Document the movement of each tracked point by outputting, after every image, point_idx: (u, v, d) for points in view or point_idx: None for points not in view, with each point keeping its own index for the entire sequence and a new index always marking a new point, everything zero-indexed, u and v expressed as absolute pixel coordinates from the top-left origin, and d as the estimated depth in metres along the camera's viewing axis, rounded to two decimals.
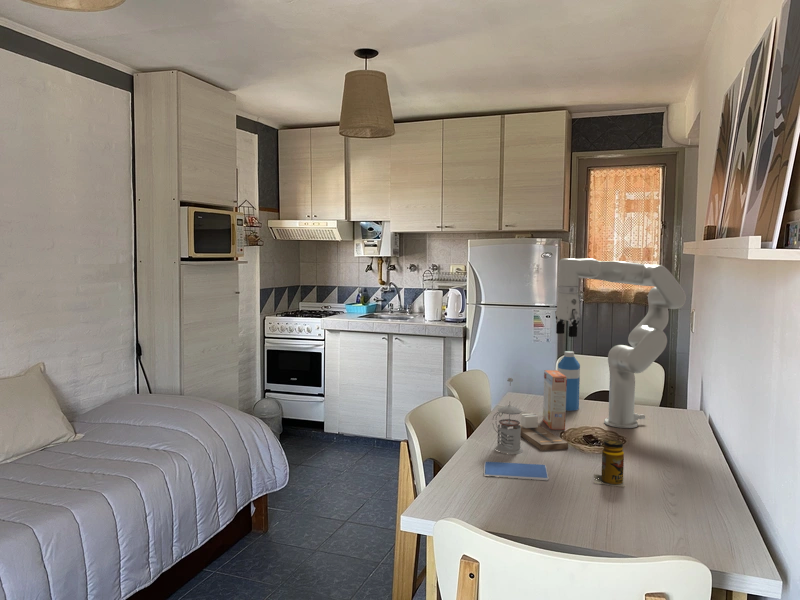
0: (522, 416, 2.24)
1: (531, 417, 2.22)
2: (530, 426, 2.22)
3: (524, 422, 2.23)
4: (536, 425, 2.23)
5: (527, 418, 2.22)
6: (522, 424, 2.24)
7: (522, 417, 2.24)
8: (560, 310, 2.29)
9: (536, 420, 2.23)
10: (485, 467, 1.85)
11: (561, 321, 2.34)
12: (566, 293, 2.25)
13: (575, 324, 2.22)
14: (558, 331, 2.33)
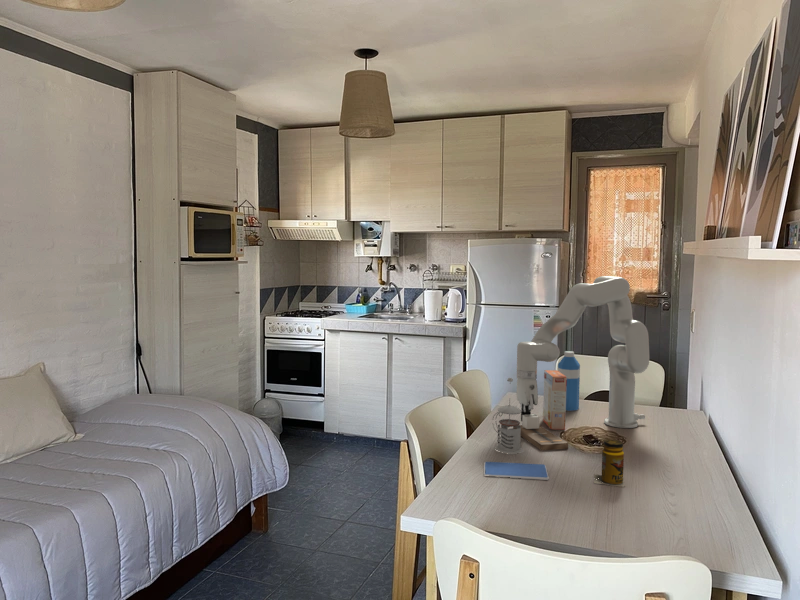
0: (523, 417, 2.23)
1: (532, 418, 2.21)
2: (531, 427, 2.21)
3: (525, 423, 2.21)
4: (537, 426, 2.22)
5: (528, 419, 2.21)
6: (523, 425, 2.23)
7: (523, 418, 2.23)
8: (519, 393, 2.27)
9: (537, 421, 2.21)
10: (485, 467, 1.85)
11: None
12: (524, 378, 2.23)
13: (528, 410, 2.25)
14: None
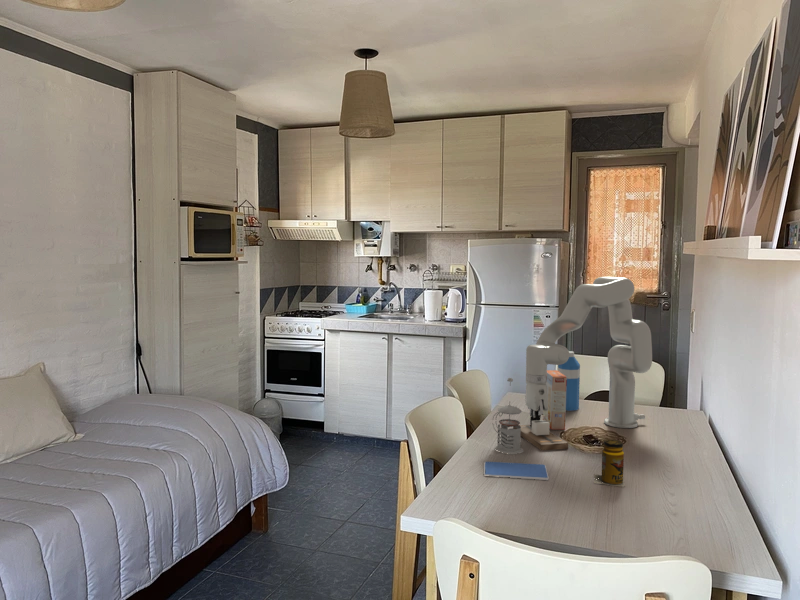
0: (533, 423, 2.15)
1: (542, 424, 2.13)
2: (541, 433, 2.13)
3: (535, 429, 2.14)
4: (547, 432, 2.14)
5: (538, 425, 2.13)
6: (533, 431, 2.15)
7: (533, 424, 2.15)
8: (528, 398, 2.19)
9: (547, 427, 2.14)
10: (485, 467, 1.85)
11: None
12: (534, 382, 2.15)
13: (538, 416, 2.17)
14: None
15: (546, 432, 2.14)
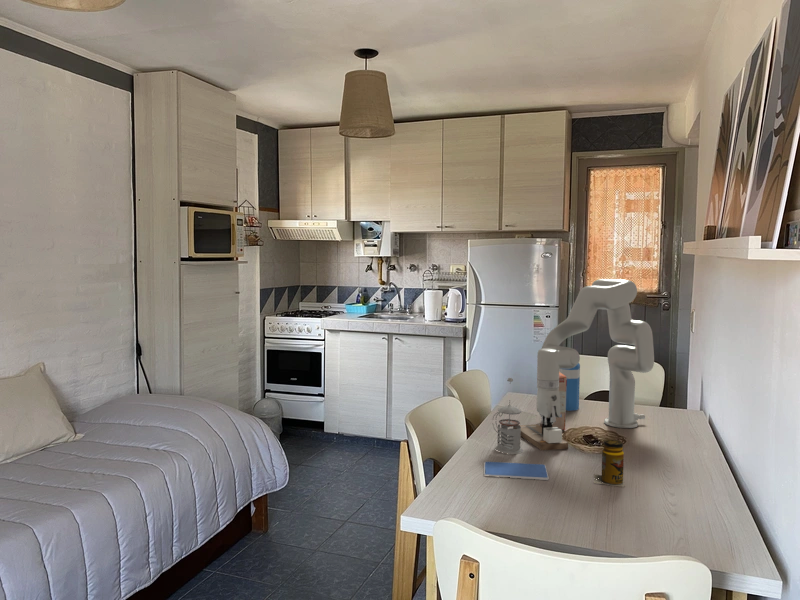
0: (545, 430, 2.06)
1: (555, 431, 2.04)
2: (554, 441, 2.04)
3: (547, 437, 2.04)
4: (560, 440, 2.05)
5: (550, 432, 2.04)
6: (545, 439, 2.06)
7: (545, 431, 2.06)
8: (540, 405, 2.10)
9: (560, 434, 2.04)
10: (485, 467, 1.85)
11: None
12: (545, 388, 2.06)
13: (550, 423, 2.08)
14: None
15: (559, 440, 2.04)
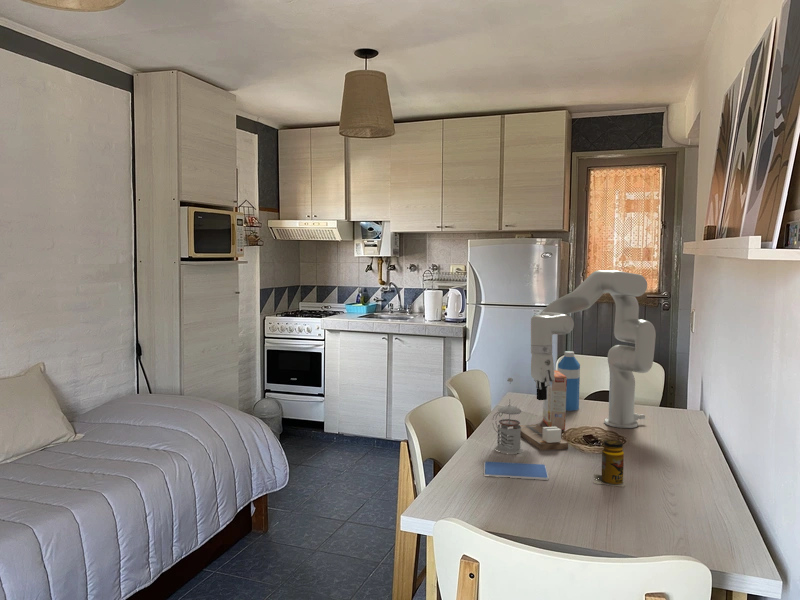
0: (544, 429, 2.07)
1: (554, 431, 2.05)
2: (553, 440, 2.05)
3: (546, 436, 2.05)
4: (559, 439, 2.05)
5: (549, 432, 2.04)
6: (544, 438, 2.07)
7: (544, 431, 2.07)
8: (534, 370, 2.15)
9: (559, 434, 2.05)
10: (485, 467, 1.85)
11: None
12: (539, 353, 2.11)
13: (544, 387, 2.13)
14: None
15: (558, 439, 2.05)
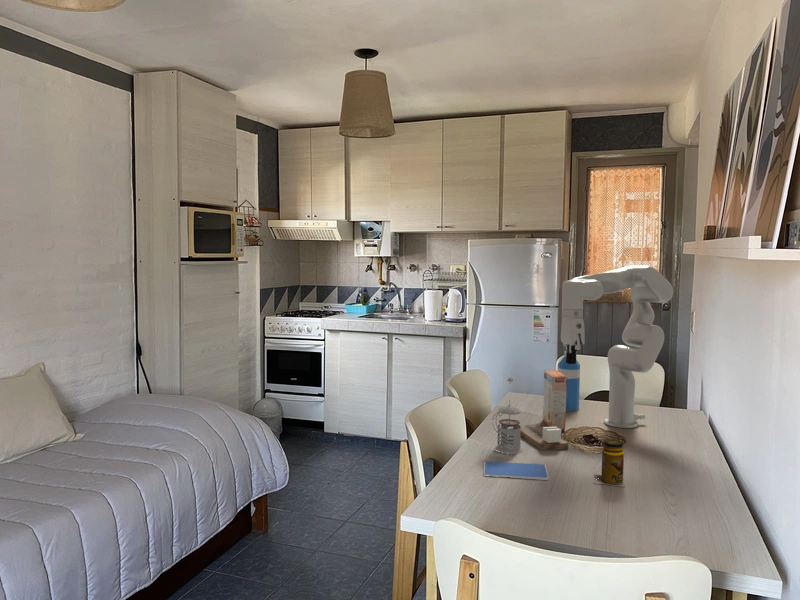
0: (544, 429, 2.07)
1: (554, 431, 2.05)
2: (553, 440, 2.05)
3: (546, 436, 2.05)
4: (559, 439, 2.05)
5: (549, 432, 2.04)
6: (544, 438, 2.07)
7: (544, 431, 2.07)
8: (564, 334, 2.19)
9: (559, 434, 2.05)
10: (485, 467, 1.85)
11: None
12: (570, 317, 2.15)
13: (574, 351, 2.17)
14: None
15: (558, 439, 2.05)
